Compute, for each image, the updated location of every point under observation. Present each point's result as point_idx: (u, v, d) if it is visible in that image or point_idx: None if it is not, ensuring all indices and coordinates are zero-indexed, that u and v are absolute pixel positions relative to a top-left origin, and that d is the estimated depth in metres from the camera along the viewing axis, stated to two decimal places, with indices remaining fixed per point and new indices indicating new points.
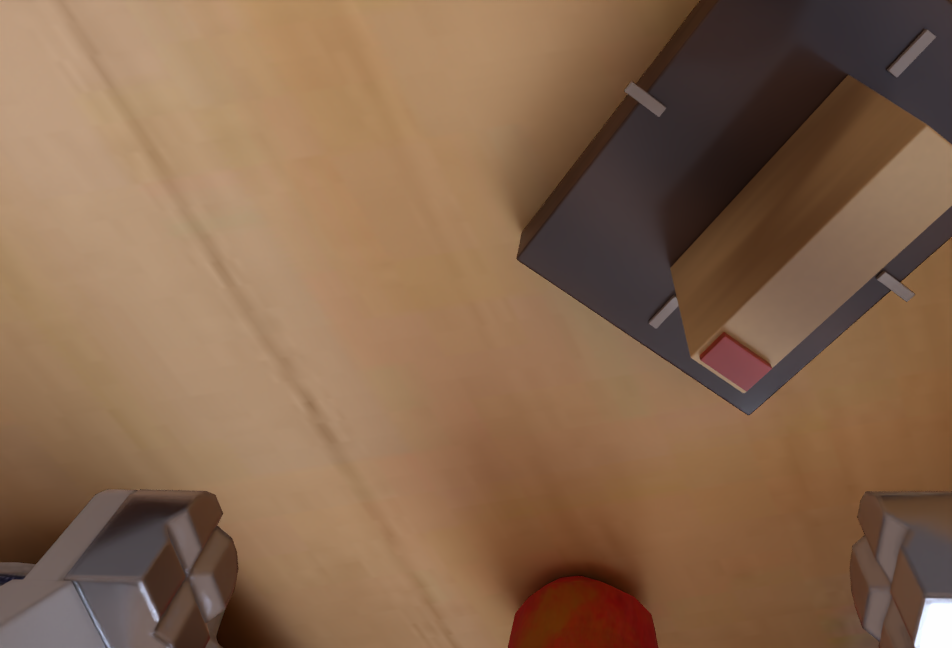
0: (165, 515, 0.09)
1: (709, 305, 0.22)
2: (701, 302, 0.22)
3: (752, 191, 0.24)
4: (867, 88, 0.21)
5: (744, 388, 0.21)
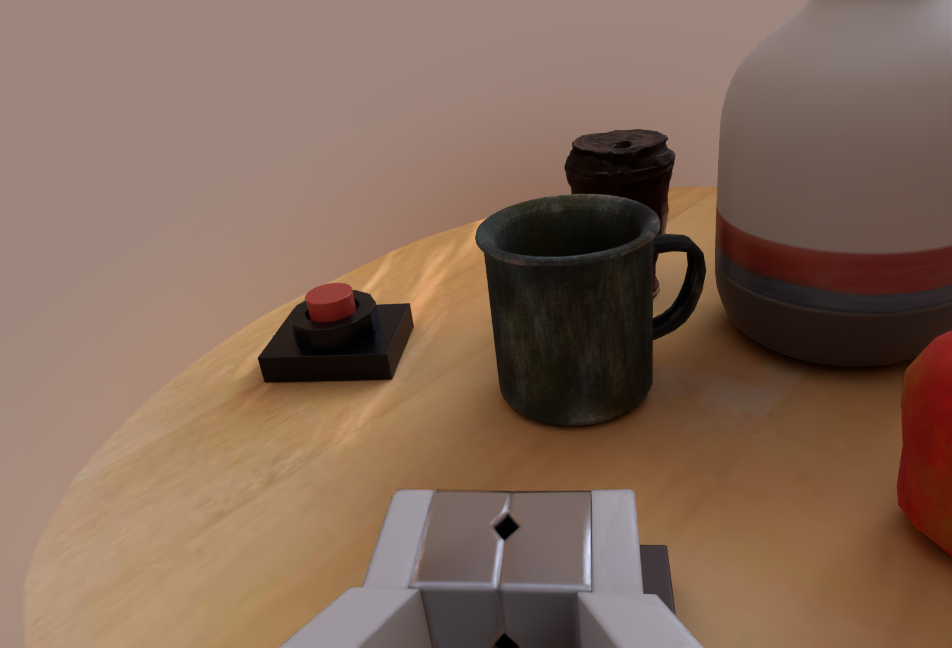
0: (486, 517, 0.08)
1: None
2: None
3: None
4: None
5: None
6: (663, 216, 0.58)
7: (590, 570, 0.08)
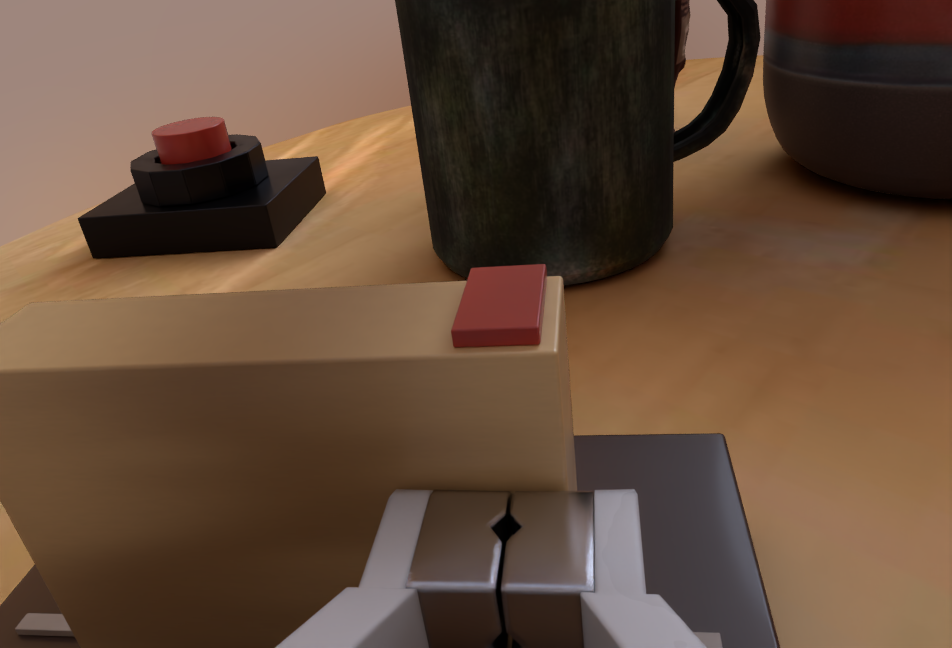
0: (484, 517, 0.09)
1: (476, 460, 0.09)
2: None
3: None
4: (55, 598, 0.11)
5: (541, 268, 0.10)
6: (683, 19, 0.40)
7: (593, 570, 0.08)
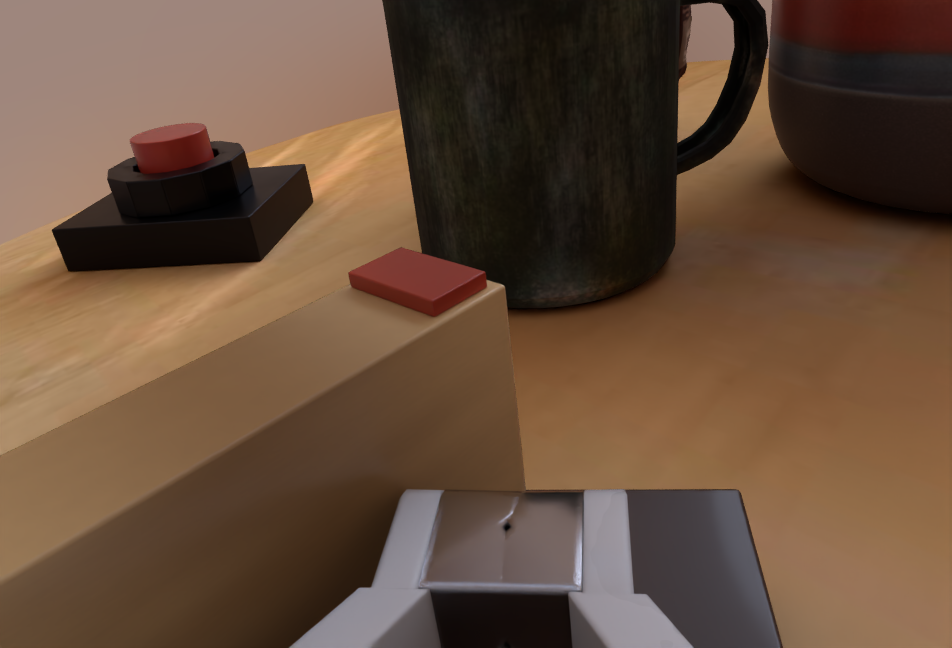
0: (495, 517, 0.08)
1: (463, 415, 0.10)
2: (478, 438, 0.10)
3: None
4: None
5: (404, 249, 0.11)
6: (684, 23, 0.38)
7: (581, 570, 0.08)
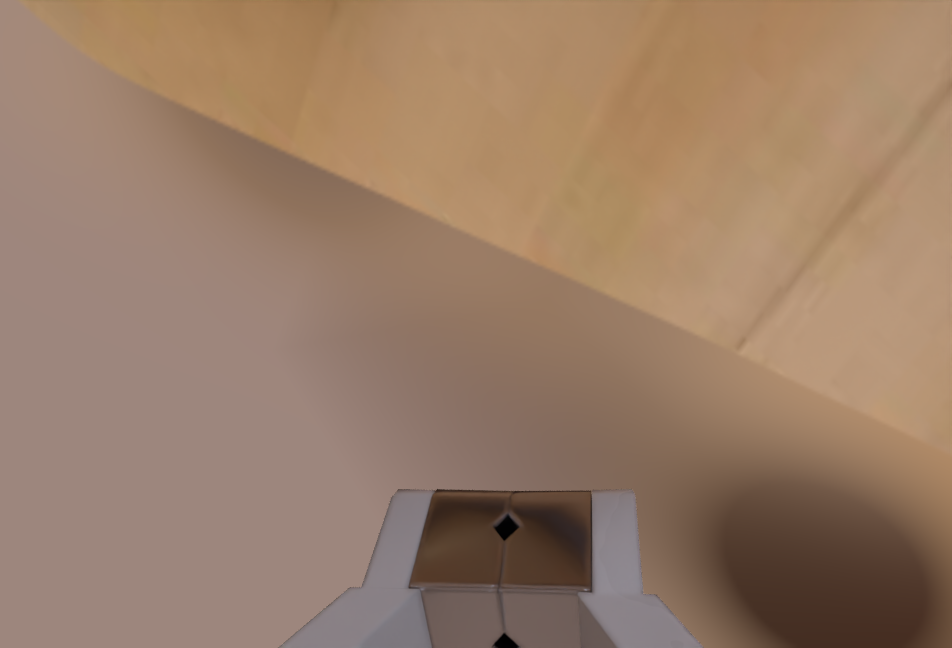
0: (486, 517, 0.08)
1: None
2: None
3: None
4: None
5: None
6: None
7: (590, 570, 0.08)
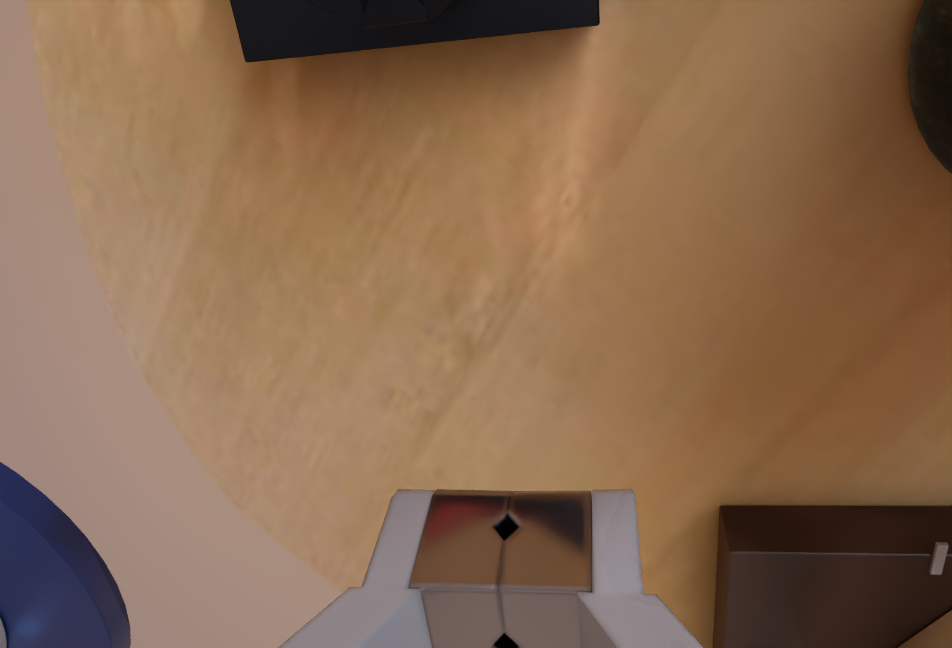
0: (486, 517, 0.08)
1: None
2: None
3: None
4: None
5: None
6: None
7: (590, 570, 0.08)
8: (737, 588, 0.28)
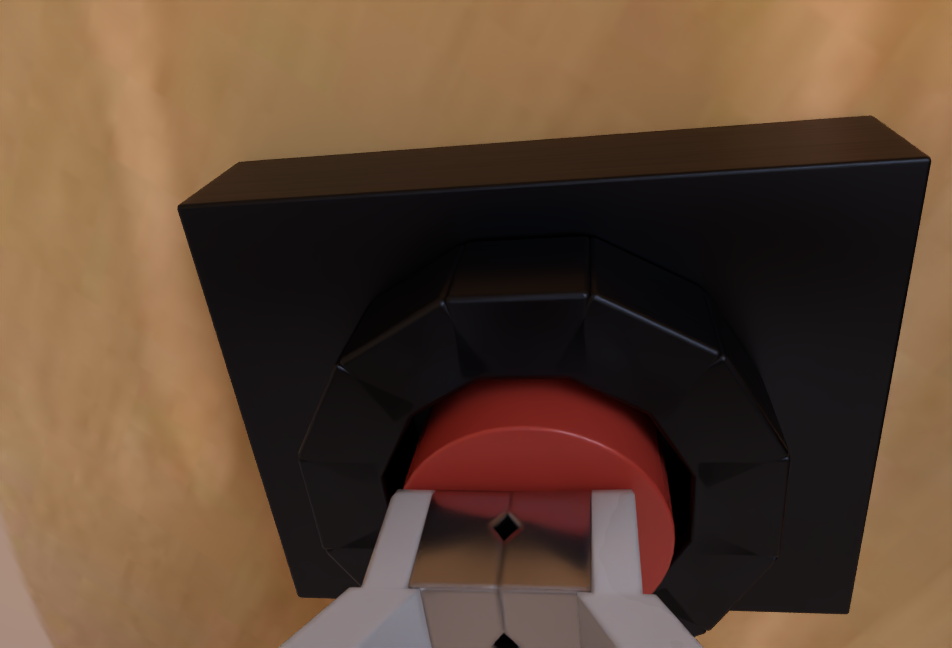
0: (486, 517, 0.08)
1: None
2: None
3: None
4: None
5: None
6: None
7: (589, 570, 0.08)
8: None
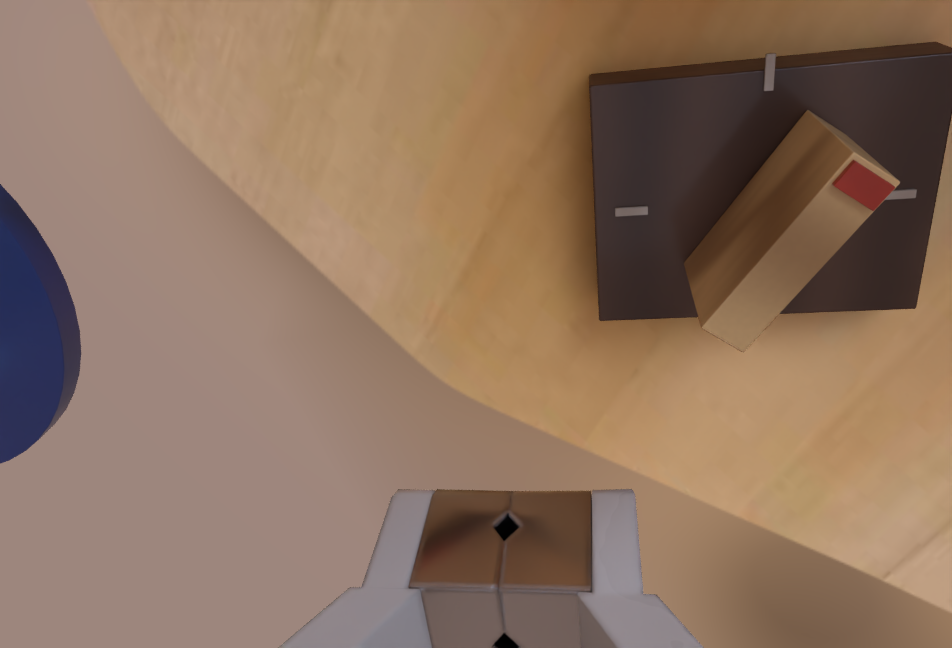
0: (486, 517, 0.08)
1: None
2: None
3: None
4: None
5: (857, 164, 0.25)
6: None
7: (590, 570, 0.08)
8: (599, 130, 0.31)
